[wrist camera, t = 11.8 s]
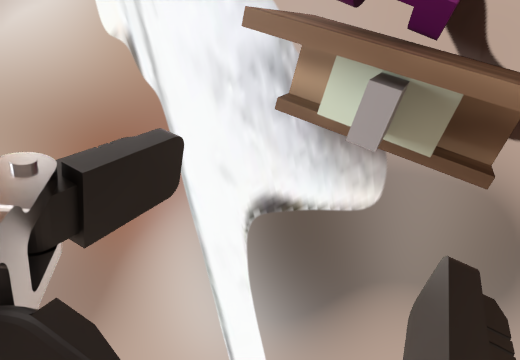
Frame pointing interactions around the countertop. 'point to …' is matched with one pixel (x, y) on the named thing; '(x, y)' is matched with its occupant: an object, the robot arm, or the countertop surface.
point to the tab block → (387, 107)
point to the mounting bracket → (424, 15)
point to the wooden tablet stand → (409, 65)
